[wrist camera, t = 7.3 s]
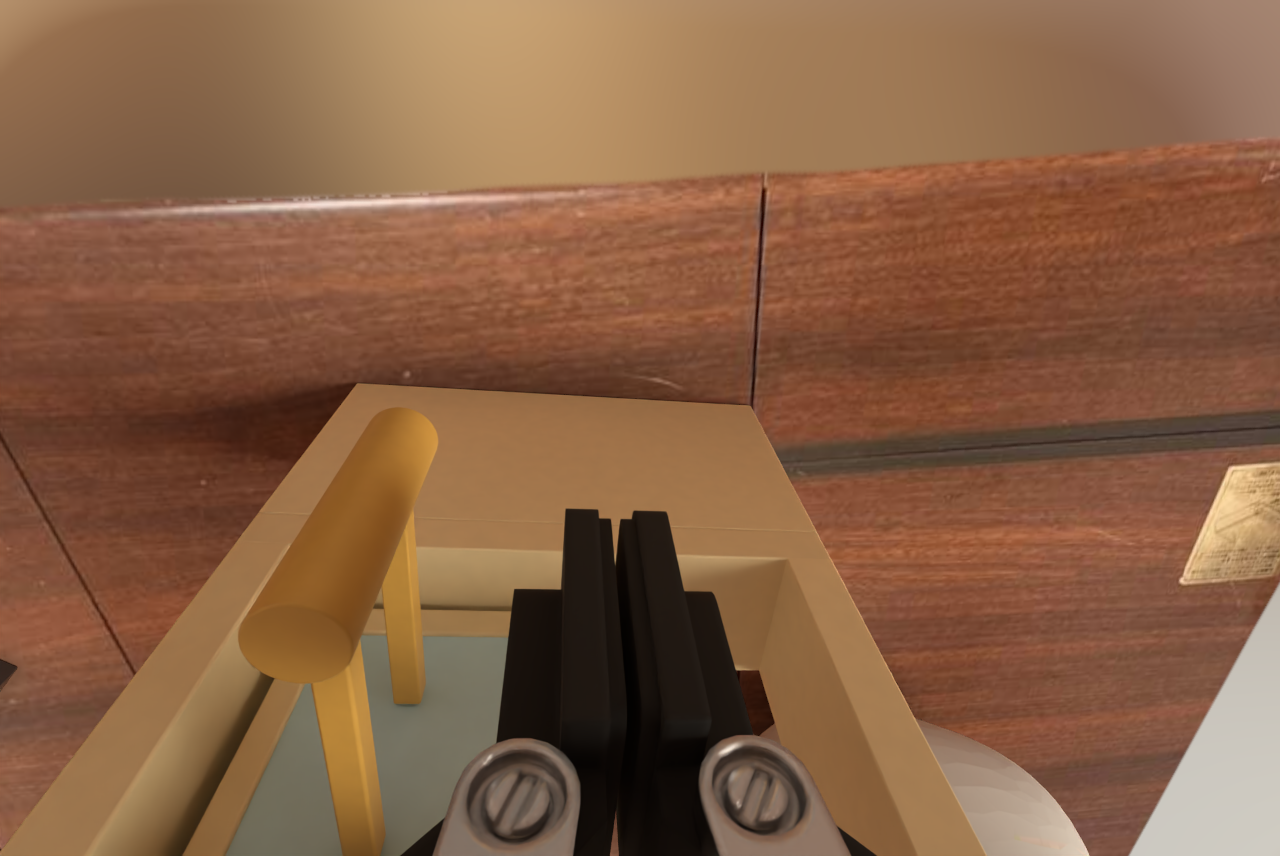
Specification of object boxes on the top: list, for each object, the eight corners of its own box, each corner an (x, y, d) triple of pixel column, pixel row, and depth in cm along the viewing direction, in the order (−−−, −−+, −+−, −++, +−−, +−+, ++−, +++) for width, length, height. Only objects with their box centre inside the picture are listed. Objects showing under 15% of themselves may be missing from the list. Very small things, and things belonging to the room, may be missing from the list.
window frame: (356, 382, 29) (-274, 1203, 8) (750, 405, 31) (1118, 1102, 10) (367, 478, 31) (-96, 1315, 10) (733, 493, 33) (1000, 1214, 12)
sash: (269, 363, 16) (-178, 758, 7) (562, 381, 17) (537, 755, 7) (315, 628, 20) (76, 1111, 11) (550, 632, 21) (524, 1084, 11)
